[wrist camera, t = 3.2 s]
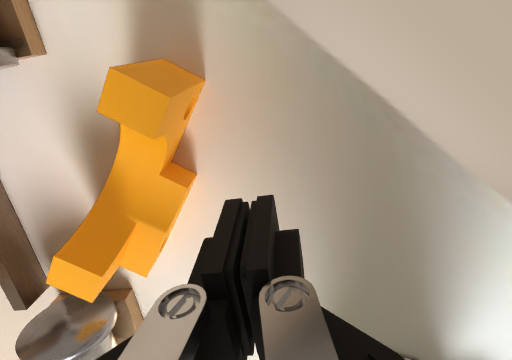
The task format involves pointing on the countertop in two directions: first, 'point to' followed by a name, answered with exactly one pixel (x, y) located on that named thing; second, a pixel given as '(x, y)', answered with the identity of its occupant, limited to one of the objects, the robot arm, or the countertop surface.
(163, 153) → the pipe clamp
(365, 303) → the countertop surface
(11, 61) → the pipe run
